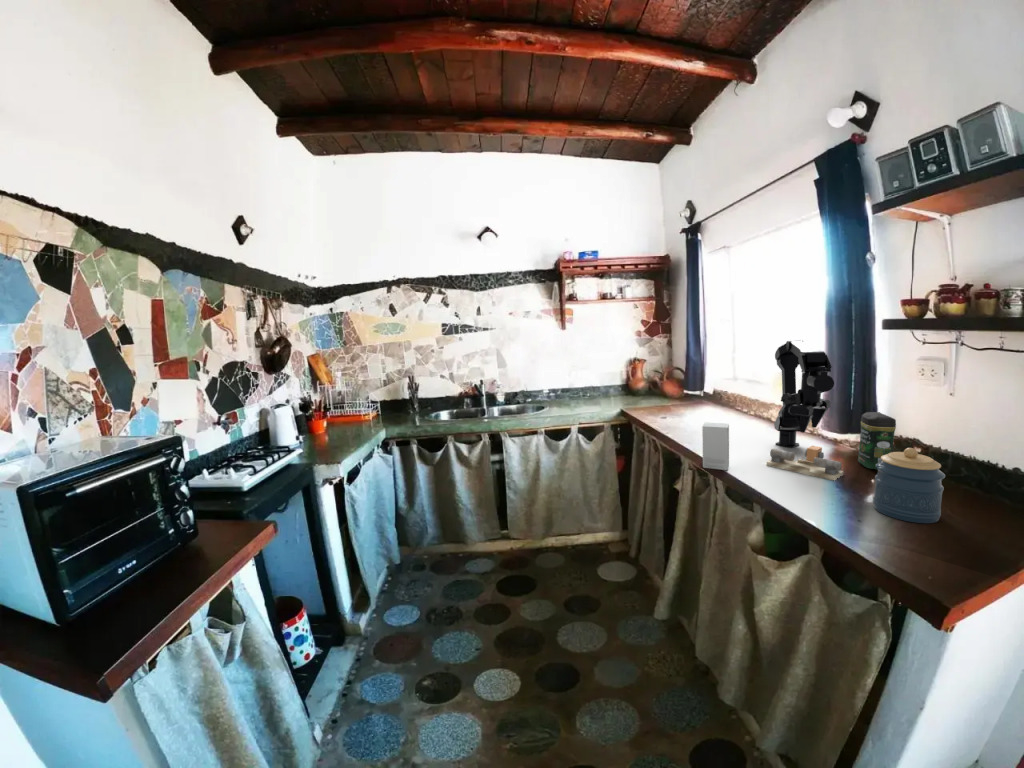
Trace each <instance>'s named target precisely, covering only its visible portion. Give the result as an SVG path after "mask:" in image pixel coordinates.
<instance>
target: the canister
mask: <svg viewBox="0 0 1024 768" xmlns="http://www.w3.org/2000/svg"><path fill="white" fill-rule="evenodd" d="M881 460H883V461H882V462H879V463H877V464H876V467H877V469H878V470H877V474H875V476H874V479H875V483H874V484H875V485H874V493H873V494H874V496H873V498H872V503H873V507H874V509H875V510H876V511H877V512H879V513H880V514H882V515H885V516H887V517H891V518H893V519H897V520H901V521H904V522H909V523H910V522H911V523H917V524H932V523H933V524H934V523H937V522H938V521H939V520H940V517H941V516H942V514H941V513H942V509H941V507H942V499H943V492H944V490H945V489H944V488H945V487H944V486H943V484H942V481H943V480H944V479H945V478H946V474H945V473H944V472H943V471H941V470H940V469H941V468H942V465H941V463H939V462H938V461H936V460H934V459H933V458H932V457H930V456H927V455H923V454H919V453H918V451H917V449H915V448H912V447H907V448H905V449H904V450H903V451H893V452H891V453H889V454H886V455H883V456H881Z"/></svg>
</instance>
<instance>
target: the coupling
mask: <svg viewBox="0 0 1024 768" xmlns="http://www.w3.org/2000/svg"><path fill="white" fill-rule="evenodd" d="M804 456H805V458H806V460H805V461H810V462H813V460H814V458H815V457H817V458H822V459H824V457H825V454H824V452H823V447H822V446H816V445H811V446H808V447H807V448H806V449H805V451H804Z"/></svg>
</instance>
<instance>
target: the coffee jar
mask: <svg viewBox="0 0 1024 768" xmlns="http://www.w3.org/2000/svg"><path fill="white" fill-rule="evenodd" d="M896 427H897V423H896V418H894V417H891V416H889V415H886V414H884V413H882V412H879V411H878V412H877V411H866V412H864V413H863V414H862V415H861V418H860V437H859V438H860V439H859V447H858V457H857V461H858V462H859V464H860V465H862V466H863V467H864V468H866V469H872V470H876V471H878V469H877V467H876V464H877V463H879V462H882V461H883V460H881V456H883V455H886V454H889V453H891V452H894V443H895V442H894V440H895V438H894V437H895V431H896Z"/></svg>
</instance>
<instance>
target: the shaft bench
mask: <svg viewBox="0 0 1024 768" xmlns="http://www.w3.org/2000/svg"><path fill="white" fill-rule="evenodd" d="M769 451H770V452H769V454H770V455H769V456H770V457H771V459H770V460H767V461H766V466H768V465H770V466H769V467H772V466H773V468H777V467H778V468H777V469H781V468H782V470H785V469H786V470H787V471H790V472H794V473H798V472H799V474H803V475H807V476H811V475H812V476H813V477H817V478H820V477H821V479H824V478H825V480H829V481H833V480H834V481H837V480H838V479H839V478H840V476H841V477H842V476H844V472H845V471H844V470H841V469H842V462H841V461H837V460H831V459H827V458H823V459H822V458H817V457H815V458H814V460H813V462H810V461H806V460H805V459H801V458H798V459H797V460H795V459H796V454H795V452H793V451H792V452H791V451H787V450H782V449H776V448H771V449H770V450H769ZM837 478H838V479H837Z"/></svg>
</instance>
